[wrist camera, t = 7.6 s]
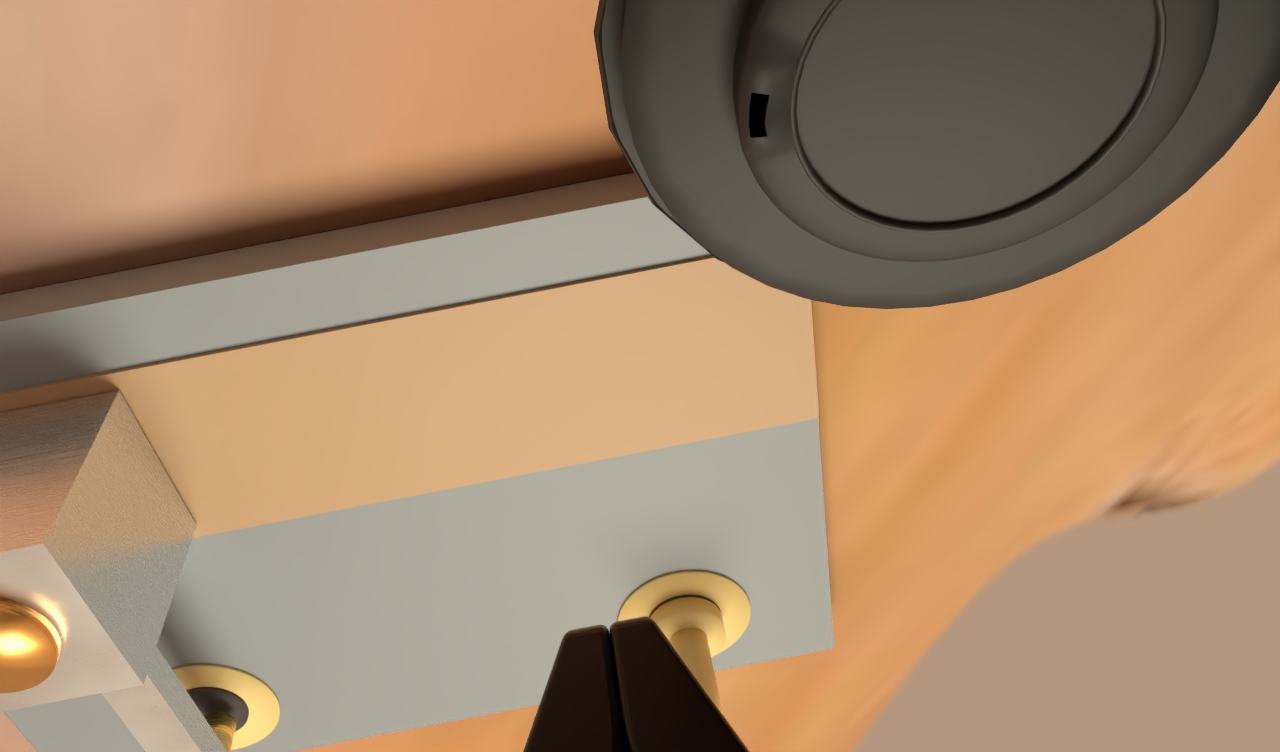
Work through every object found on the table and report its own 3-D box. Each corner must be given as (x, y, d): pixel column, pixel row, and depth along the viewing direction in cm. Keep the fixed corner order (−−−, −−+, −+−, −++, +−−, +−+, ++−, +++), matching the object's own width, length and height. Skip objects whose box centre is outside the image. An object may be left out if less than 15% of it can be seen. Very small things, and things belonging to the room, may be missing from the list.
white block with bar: (119, 390, 22) (37, 556, 18) (300, 706, 28) (269, 877, 24) (-69, 426, 22) (-191, 600, 18) (156, 733, 28) (102, 909, 24)
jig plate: (787, 142, 22) (859, 274, 17) (823, 615, 31) (877, 780, 26) (-251, 343, 22) (-439, 524, 17) (86, 756, 31) (18, 944, 26)
